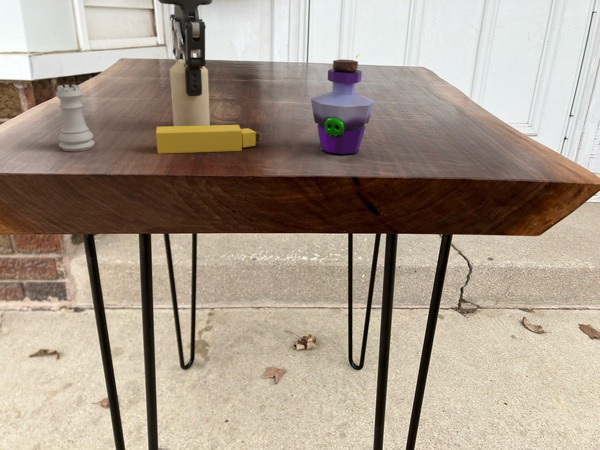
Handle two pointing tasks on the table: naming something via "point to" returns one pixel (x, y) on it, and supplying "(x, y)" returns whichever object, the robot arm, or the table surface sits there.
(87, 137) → the rook chess piece
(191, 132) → the yellow highlighter marker
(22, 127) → the table surface
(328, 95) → the potion bottle
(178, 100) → the candle
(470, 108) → the table surface
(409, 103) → the table surface
